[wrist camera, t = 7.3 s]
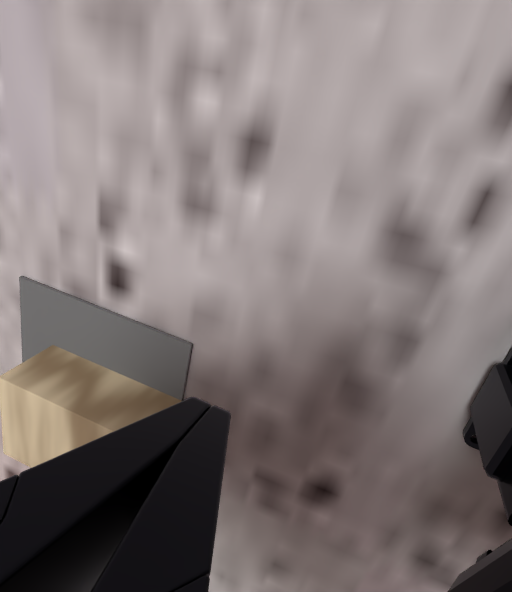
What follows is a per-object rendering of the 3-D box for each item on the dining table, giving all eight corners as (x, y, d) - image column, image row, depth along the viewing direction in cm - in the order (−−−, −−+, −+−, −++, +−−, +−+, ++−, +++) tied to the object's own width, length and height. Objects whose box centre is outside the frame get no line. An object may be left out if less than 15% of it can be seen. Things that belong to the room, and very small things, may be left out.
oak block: (152, 449, 21) (-2, 377, 23) (141, 525, 23) (3, 453, 25) (189, 404, 24) (53, 344, 26) (176, 473, 27) (52, 414, 29)
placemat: (192, 343, 23) (191, 345, 23) (163, 507, 29) (161, 509, 29) (22, 275, 25) (19, 276, 25) (27, 439, 31) (25, 441, 31)
